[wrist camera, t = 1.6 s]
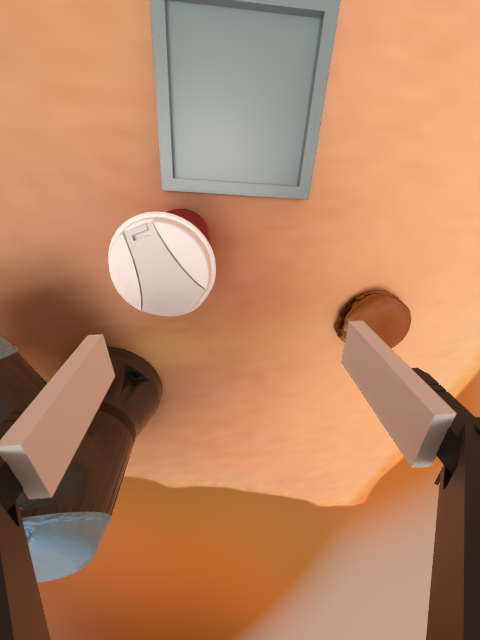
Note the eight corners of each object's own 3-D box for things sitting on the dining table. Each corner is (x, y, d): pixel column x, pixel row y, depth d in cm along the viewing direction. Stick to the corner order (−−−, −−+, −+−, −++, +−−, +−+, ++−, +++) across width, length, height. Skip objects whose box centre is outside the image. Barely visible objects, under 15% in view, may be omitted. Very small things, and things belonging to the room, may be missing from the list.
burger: (412, 299, 39) (434, 313, 35) (376, 350, 43) (391, 368, 39) (354, 277, 37) (370, 290, 33) (321, 332, 41) (332, 350, 37)
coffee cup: (137, 212, 32) (77, 237, 19) (203, 187, 31) (189, 196, 18) (168, 277, 36) (136, 336, 22) (227, 256, 35) (231, 306, 22)
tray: (165, 189, 31) (161, 190, 29) (153, -17, 23) (147, -32, 22) (303, 198, 32) (308, 199, 30) (333, 6, 25) (341, -8, 23)
